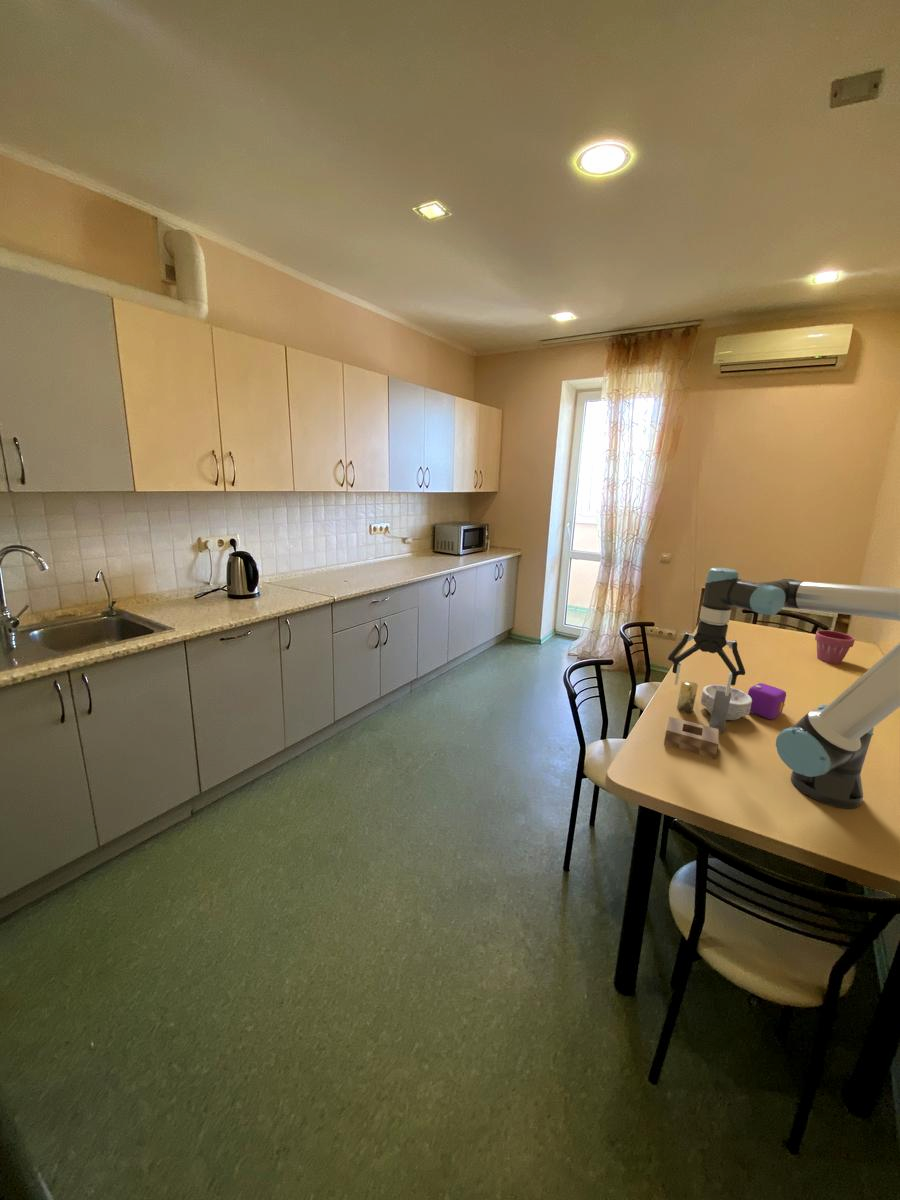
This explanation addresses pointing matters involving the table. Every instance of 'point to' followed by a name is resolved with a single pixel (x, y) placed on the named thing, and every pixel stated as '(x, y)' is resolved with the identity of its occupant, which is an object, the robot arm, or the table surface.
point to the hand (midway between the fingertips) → (700, 688)
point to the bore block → (692, 737)
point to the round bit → (687, 696)
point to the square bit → (720, 709)
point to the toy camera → (766, 700)
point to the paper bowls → (737, 705)
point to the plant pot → (833, 645)
